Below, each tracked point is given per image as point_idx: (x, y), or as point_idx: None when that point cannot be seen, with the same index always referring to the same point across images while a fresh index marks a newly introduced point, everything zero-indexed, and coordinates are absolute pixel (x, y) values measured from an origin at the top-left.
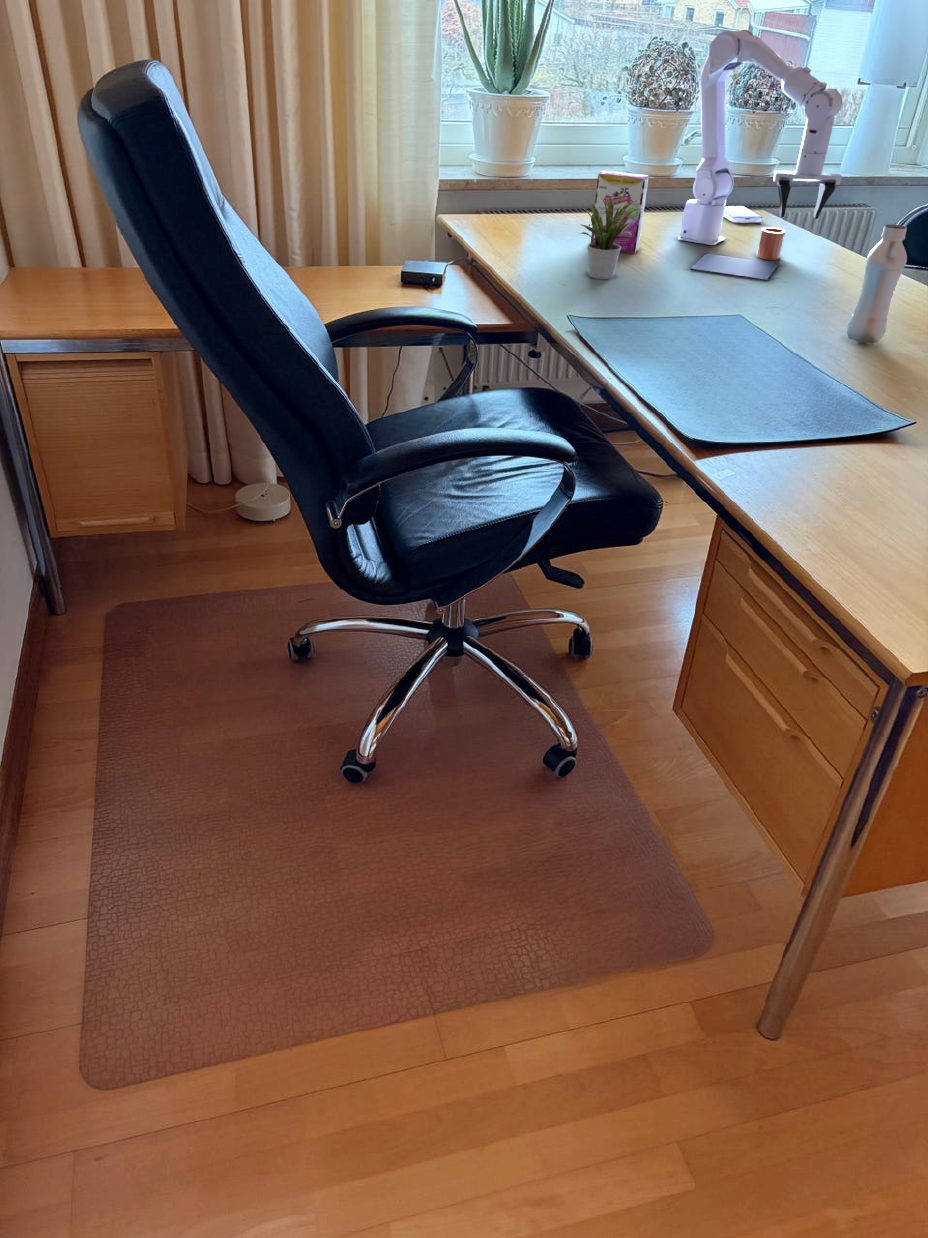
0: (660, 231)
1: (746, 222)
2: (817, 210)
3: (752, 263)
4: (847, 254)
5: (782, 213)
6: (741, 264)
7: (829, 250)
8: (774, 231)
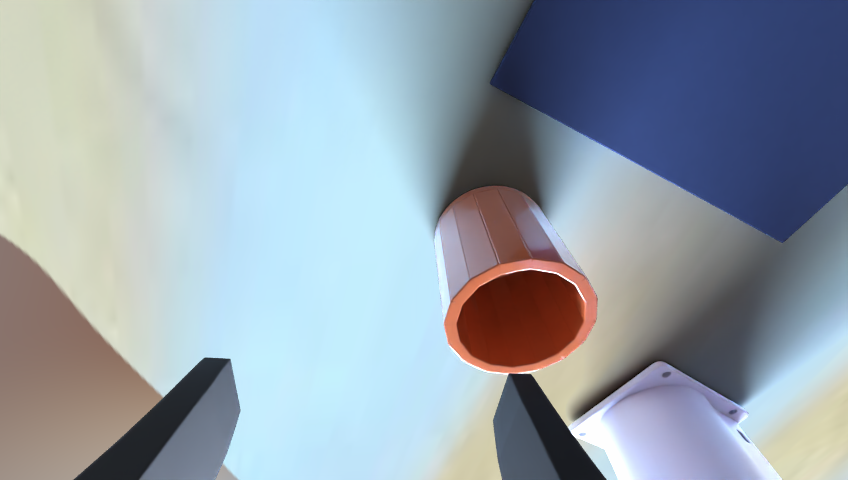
0: None
1: None
2: (188, 416)
3: (655, 70)
4: (92, 311)
5: (539, 392)
6: (741, 36)
7: (177, 355)
8: (486, 347)
